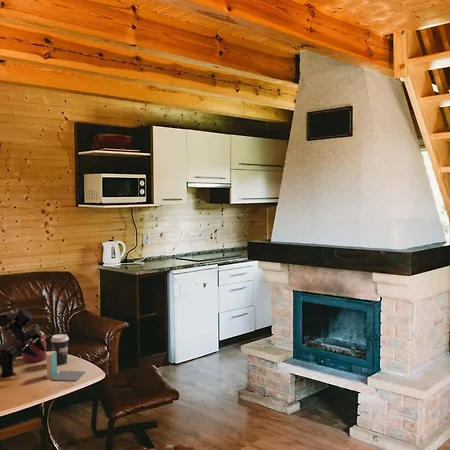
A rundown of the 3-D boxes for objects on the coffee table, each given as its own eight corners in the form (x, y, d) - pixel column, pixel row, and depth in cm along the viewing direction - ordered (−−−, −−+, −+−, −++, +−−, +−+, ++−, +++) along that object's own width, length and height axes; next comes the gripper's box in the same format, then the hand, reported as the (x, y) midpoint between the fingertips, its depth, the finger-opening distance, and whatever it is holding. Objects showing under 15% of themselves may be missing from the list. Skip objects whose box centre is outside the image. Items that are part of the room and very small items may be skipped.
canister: (50, 359, 300) (49, 328, 298) (27, 365, 291) (26, 333, 289) (40, 354, 309) (39, 323, 308) (18, 359, 300) (17, 328, 299)
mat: (51, 380, 268) (51, 379, 268) (60, 371, 280) (60, 370, 279) (76, 381, 266) (76, 380, 266) (85, 372, 278) (84, 371, 278)
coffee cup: (56, 367, 287) (54, 339, 286) (48, 362, 294) (47, 336, 293) (72, 363, 293) (71, 336, 292) (65, 358, 300) (64, 332, 299)
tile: (47, 378, 271) (46, 355, 270) (52, 373, 277) (51, 351, 276) (51, 378, 270) (51, 355, 269) (57, 373, 277) (56, 351, 276)
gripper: (20, 326, 263) (43, 348, 263) (37, 316, 282) (58, 337, 282) (6, 341, 265) (28, 364, 265) (24, 331, 283) (45, 351, 283)
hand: (41, 353), depth 273 cm, fingers open, 9 cm apart
